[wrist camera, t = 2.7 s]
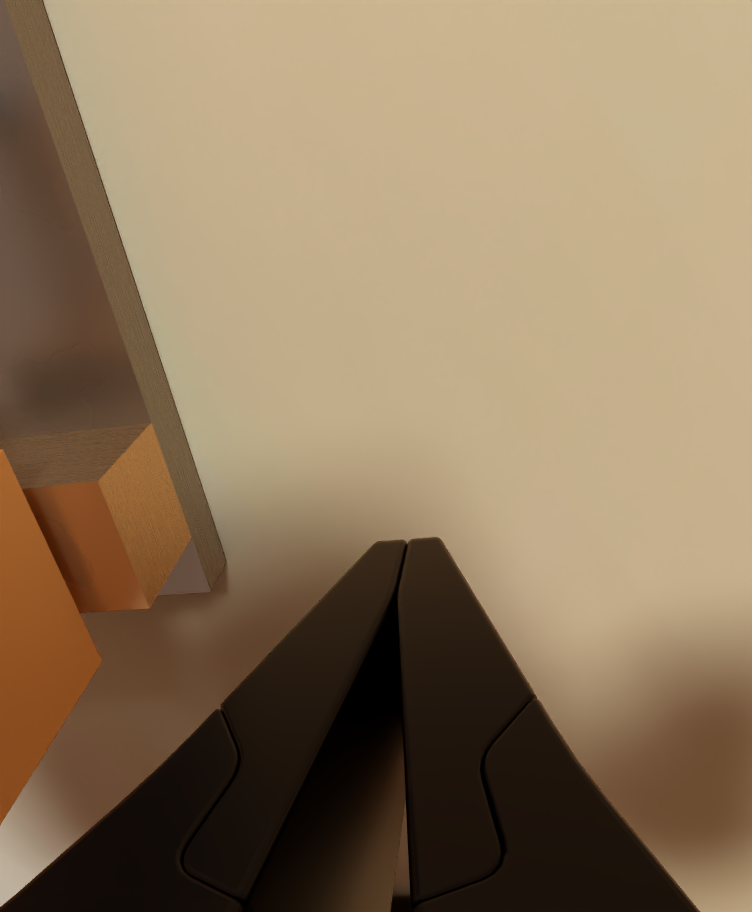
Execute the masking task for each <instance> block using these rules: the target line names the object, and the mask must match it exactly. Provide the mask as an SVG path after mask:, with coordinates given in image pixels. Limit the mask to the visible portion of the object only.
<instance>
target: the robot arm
mask: <svg viewBox="0 0 752 912" xmlns="http://www.w3.org/2000/svg"><path fill="white" fill-rule="evenodd" d="M220 708H221V710H220V709H216V710H215V711H214V712H213V713H212V714H211V715H210V716H209V717H208V718H207V719H206V720H205V721H204V722H203V723H202V724H201V725H200V726H199V727H198V728H197V729H196V731H195V732H194V733H193V734H192V735H191V736H190V737H189V738H188V739H187V740H186V741H185V742H184V743H183V744H182V745H181V746H180V747H179V748H178V749H177V750H176V751H175V752H174V753H173V754H172V755H171V756H170V757H169V758H168V759H167V760H166V761H165V762H164V763H163V764H162V765H161V766H159V767H158V768H157V769H156V770H155V771H154V772H153V773H152V774H151V775H150V776H149V777H147V778H146V779H145V780H144V781H143V782H142V783H141V784H140V785H139V786H138V787H137V788H135V789H134V790H133V791H132V792H131V793H130V794H129V795H128V796H127V797H126V798H124V799H123V800H122V801H121V802H120V803H119V804H118V805H117V806H116V807H114V808H113V809H112V810H111V811H110V812H109V813H108V814H107V815H105V816H104V817H103V818H102V819H101V820H100V821H99V822H97V823H96V824H95V825H94V826H93V827H92V828H91V829H89V830H88V831H87V832H86V833H85V834H84V835H83V836H82V837H80V838H79V839H78V840H77V841H76V842H75V843H74V844H72V845H71V846H70V847H69V848H68V849H67V850H66V851H64V852H63V853H62V854H61V855H60V856H59V857H58V858H57V859H55V860H54V861H53V862H52V863H51V864H50V865H49V866H47V867H46V868H45V869H44V870H43V871H42V872H41V873H39V874H38V875H37V876H36V877H35V878H34V879H33V880H32V881H30V882H29V883H28V884H27V885H26V886H25V887H24V888H22V889H21V890H20V891H19V892H18V893H17V894H16V895H15V896H13V897H12V898H11V899H10V900H8V901H7V902H6V903H5V904H4V905H2V906H1V907H0V912H700V911H699V910H698V908H697V907H696V906H695V905H694V904H693V902H692V901H691V900H690V899H689V897H688V896H687V895H686V894H685V893H684V891H683V890H682V889H681V888H680V887H679V885H678V884H677V883H676V882H675V880H674V879H673V878H672V877H671V876H670V874H669V873H668V872H667V871H666V870H665V868H664V867H663V866H662V865H661V863H660V862H659V861H658V860H657V859H656V857H655V856H654V855H653V854H652V852H651V851H650V850H649V849H648V848H647V846H646V845H645V844H644V843H643V842H642V840H641V839H640V838H639V837H638V835H637V834H636V833H635V832H634V831H633V829H632V828H631V827H630V826H629V825H628V823H627V822H626V821H625V820H624V818H623V817H622V816H621V815H620V814H619V812H618V811H617V810H616V809H615V808H614V806H613V805H612V804H611V803H610V801H609V800H608V799H607V798H606V796H605V795H604V794H603V792H602V791H601V790H600V788H599V787H598V786H597V785H596V783H595V782H594V781H593V779H592V778H591V777H590V775H589V774H588V773H587V772H586V770H585V769H584V768H583V766H582V765H581V764H580V762H579V761H578V760H577V758H576V757H575V755H574V754H573V752H572V751H571V749H570V748H569V746H568V745H567V743H566V742H565V740H564V739H563V737H562V736H561V734H560V733H559V731H558V730H557V728H556V727H555V725H554V723H553V722H552V720H551V719H550V717H549V715H548V714H547V712H546V710H545V709H544V707H543V705H542V704H541V702H540V701H539V700H537V697H536V695H535V693H534V691H533V690H532V688H531V686H530V685H529V683H528V681H527V680H526V678H525V677H524V675H523V673H522V672H521V670H520V668H519V667H518V665H517V663H516V662H515V660H514V658H513V657H512V655H511V653H510V652H509V650H508V649H507V647H506V645H505V644H504V642H503V640H502V639H501V637H500V635H499V634H498V632H497V630H496V629H495V627H494V626H493V624H492V622H491V621H490V619H489V617H488V616H487V614H486V612H485V611H484V609H483V607H482V606H481V604H480V603H479V601H478V599H477V598H476V596H475V594H474V593H473V591H472V589H471V588H470V586H469V584H468V583H467V581H466V580H465V578H464V576H463V575H462V573H461V571H460V570H459V568H458V566H457V565H456V563H455V561H454V560H453V558H452V556H451V555H450V553H449V552H448V550H447V548H446V547H445V545H444V543H443V542H442V540H441V539H440V538H438V537H432V538H419V539H412V540H410V541H409V542H408V543H407V542H406V541H405V540H391V541H379V542H376V543H375V544H373V545H372V546H371V547H370V548H369V549H368V550H367V552H366V553H365V554H364V555H363V556H362V557H361V558H360V559H359V560H358V561H357V562H356V563H355V564H354V565H353V566H352V567H351V568H350V569H349V570H348V571H347V573H346V574H345V575H344V576H343V577H342V578H341V579H340V580H339V581H338V582H337V583H336V584H335V585H334V586H333V587H332V588H331V589H330V590H329V591H328V592H327V593H326V595H325V596H324V597H323V598H322V599H321V600H320V601H319V602H318V603H317V604H316V605H315V606H314V607H313V608H312V609H311V610H310V611H309V612H308V613H307V614H306V616H305V617H304V618H303V619H302V620H301V621H300V622H299V623H298V624H297V625H296V626H295V627H294V628H293V629H292V630H291V631H290V632H289V633H288V634H287V635H286V636H285V638H284V639H283V640H282V641H281V642H280V643H279V644H278V645H277V646H276V647H275V648H274V649H273V650H272V651H271V652H270V653H269V654H268V655H267V656H266V657H265V659H264V660H263V661H262V662H261V663H260V664H259V665H258V666H257V667H256V668H255V669H254V670H253V671H252V672H251V673H250V674H249V675H248V676H247V677H246V678H245V679H244V681H243V682H242V683H241V684H240V685H239V686H238V687H237V688H236V689H235V690H234V691H233V692H232V693H231V694H230V695H229V696H228V697H227V698H226V699H225V700H224V702H223V703H222V704H221V706H220ZM405 799H406V815H407V836H408V857H409V878H410V899H411V901H392V895H393V887H394V880H395V873H396V865H397V858H398V851H399V843H400V836H401V828H402V821H403V814H404V806H405Z"/></svg>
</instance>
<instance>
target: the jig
mask: <svg viewBox="0 0 752 912" xmlns="http://www.w3.org/2000/svg"><path fill="white" fill-rule="evenodd" d="M2 449H3V450H4V452H5V455H6V457H7V459H8V461H9V463H10V465H11V467H12V470H13V472H14V474H15V476H16V478H17V480H18V482H19V485H20V487H21V489H22V491H23V493H24V495H25V497H26V500H27V502H28V504H29V506H30V508H31V510H32V512H33V515H34V517H35V519H36V521H37V523H38V525H39V527H40V530H41V532H42V534H43V536H44V538H45V540H46V542H47V545H48V547H49V549H50V551H51V553H52V555H53V557H54V560H55V562H56V564H57V566H58V568H59V570H60V572H61V574H62V577H63V579H64V581H65V583H66V585H67V587H68V589H69V592H70V594H71V596H72V598H73V600H74V602H75V604H76V607H77V609H78V611H79V613H84V612H100V611H116V610H132V609H148V608H150V607H151V605H152V603H153V602H154V600H155V598H156V597H157V595H171V594H186V593H202V592H211V590H212V588H213V586H214V584H215V582H216V580H217V578H218V576H219V574H220V572H221V570H222V568H223V566H224V564H225V562H226V559H225V556H224V553H223V550H222V547H221V544H220V541H219V538H218V535H217V532H216V529H215V526H214V523H213V520H212V517H211V514H210V511H209V508H208V505H207V502H206V499H205V495H204V492H203V489H202V486H201V483H200V480H199V477H198V474H197V471H196V468H195V465H194V462H193V459H192V456H191V453H190V450H189V447H188V444H187V441H186V438H185V435H184V432H183V428H182V425H181V422H180V419H179V416H178V413H177V410H176V407H175V404H174V401H173V398H172V395H171V392H170V389H169V386H168V383H167V380H166V377H165V374H164V371H163V368H162V365H161V361H160V358H159V355H158V352H157V349H156V346H155V343H154V340H153V337H152V334H151V331H150V328H149V325H148V322H147V319H146V316H145V313H144V310H143V307H142V304H141V301H140V298H139V294H138V291H137V288H136V285H135V282H134V279H133V276H132V273H131V270H130V267H129V264H128V261H127V258H126V255H125V252H124V249H123V246H122V243H121V240H120V237H119V234H118V231H117V228H116V224H115V221H114V218H113V215H112V212H111V209H110V206H109V203H108V200H107V197H106V194H105V191H104V188H103V185H102V182H101V179H100V176H99V173H98V170H97V167H96V164H95V161H94V157H93V154H92V151H91V148H90V145H89V142H88V139H87V136H86V133H85V130H84V127H83V124H82V121H81V118H80V115H79V112H78V109H77V106H76V103H75V100H74V97H73V94H72V90H71V87H70V84H69V81H68V78H67V75H66V72H65V69H64V66H63V63H62V60H61V57H60V54H59V51H58V48H57V45H56V42H55V39H54V36H53V33H52V30H51V27H50V23H49V20H48V17H47V14H46V11H45V8H44V5H43V2H42V0H0V450H2Z"/></svg>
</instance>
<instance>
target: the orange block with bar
mask: <svg viewBox="0 0 752 912" xmlns="http://www.w3.org/2000/svg"><path fill="white" fill-rule="evenodd" d="M101 662H102V660H101V658H100V656H99V654H98V652H97V649H96V647H95V645H94V643H93V641H92V639H91V637H90V634H89V632H88V630H87V628H86V626H85V624H84V622H83V619H82V617H81V615H80V613H79V611H78V609H77V607H76V604H75V602H74V600H73V598H72V596H71V594H70V592H69V589H68V587H67V585H66V583H65V581H64V579H63V577H62V574H61V572H60V570H59V568H58V566H57V564H56V562H55V560H54V557H53V555H52V553H51V551H50V549H49V547H48V545H47V542H46V540H45V538H44V536H43V534H42V532H41V530H40V527H39V525H38V523H37V521H36V519H35V517H34V515H33V512H32V510H31V508H30V506H29V504H28V502H27V500H26V497H25V495H24V493H23V491H22V489H21V487H20V485H19V482H18V480H17V478H16V476H15V474H14V472H13V470H12V467H11V465H10V463H9V461H8V459H7V457H6V455H5V452H4V450H3V449H2V450H0V825H1V823H2V821H3V820H4V818H5V817H6V815H7V813H8V812H9V810H10V809H11V807H12V805H13V804H14V802H15V801H16V799H17V797H18V796H19V794H20V792H21V791H22V789H23V788H24V786H25V784H26V783H27V781H28V780H29V778H30V776H31V775H32V773H33V772H34V770H35V768H36V767H37V765H38V763H39V762H40V760H41V759H42V757H43V755H44V754H45V752H46V751H47V749H48V747H49V746H50V744H51V743H52V741H53V739H54V738H55V736H56V735H57V733H58V731H59V730H60V728H61V726H62V725H63V723H64V722H65V720H66V718H67V717H68V715H69V714H70V712H71V710H72V709H73V707H74V706H75V704H76V702H77V701H78V699H79V698H80V696H81V694H82V693H83V691H84V689H85V688H86V686H87V685H88V683H89V681H90V680H91V678H92V677H93V675H94V673H95V672H96V670H97V669H98V667H99V665H100V664H101Z"/></svg>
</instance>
